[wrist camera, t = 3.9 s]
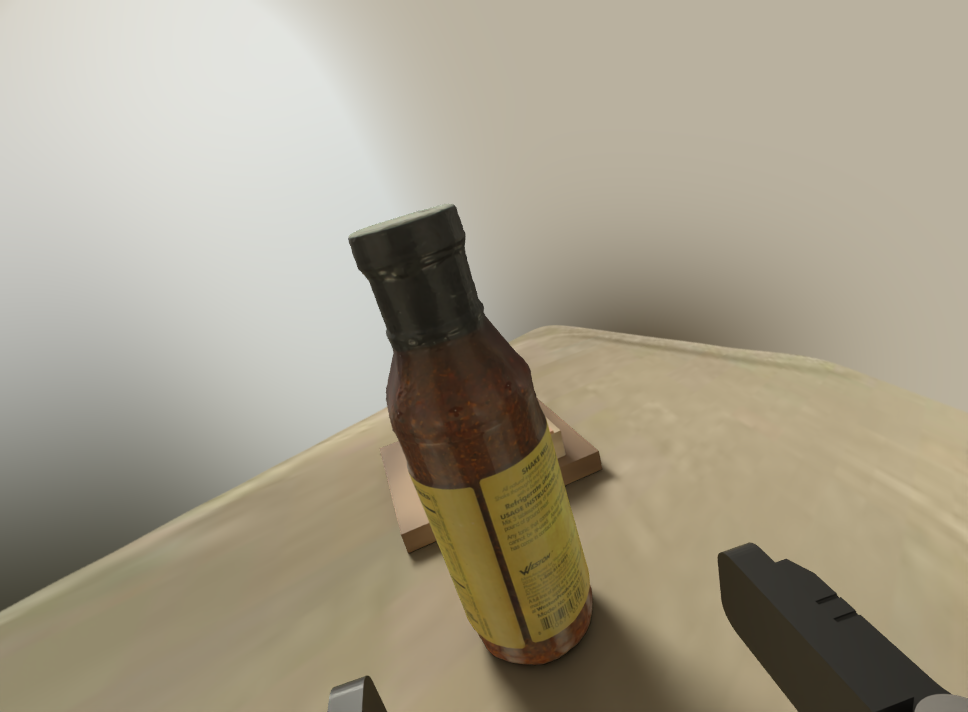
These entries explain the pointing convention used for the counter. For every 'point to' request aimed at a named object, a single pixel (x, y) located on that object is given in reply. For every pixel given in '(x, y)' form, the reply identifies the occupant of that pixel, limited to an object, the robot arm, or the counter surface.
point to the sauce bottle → (476, 442)
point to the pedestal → (412, 520)
